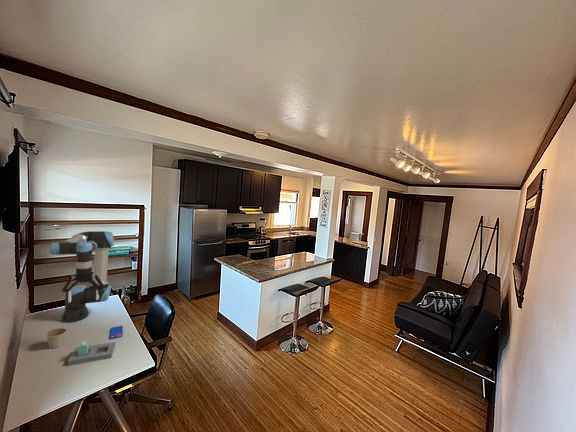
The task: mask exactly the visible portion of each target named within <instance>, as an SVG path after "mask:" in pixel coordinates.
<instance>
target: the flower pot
mask: <svg viewBox="0 0 576 432" xmlns="http://www.w3.org/2000/svg"><path fill="white" fill-rule="evenodd" d="M66 332H67V329H66V328H64V327H59V328H55V329H51V330H49V331H47V332H46V333H45V337H46V339H47V343H48V347H49V349H56V348H60V347H61V346H62V345H63V344H64V340H65V335H66Z"/></svg>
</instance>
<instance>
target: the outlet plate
mask: <svg viewBox="0 0 576 432" xmlns="http://www.w3.org/2000/svg"><path fill="white" fill-rule="evenodd" d="M115 347H116V341H113V342H108V343H101V344H96V345H95V344H94V345H89V353H88V355H83V356H78V347H76V348H74V350H73V351H72V353H71V355H70V357H69V358H68V360H67V366H73V365H79V364H83V363H84V364H85V363H90V362H91V363H92V362H95V361H100V360H107V359H111V358H112V357H113V353H114V350H115Z"/></svg>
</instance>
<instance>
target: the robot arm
mask: <svg viewBox="0 0 576 432" xmlns="http://www.w3.org/2000/svg"><path fill="white" fill-rule="evenodd" d="M114 246H115V238H114V233H113V232H112V231H106V230H104V231H103V230H102V231H100V230H99V231H96V230H95V231H88V230H87V231H82V232H77V233H76V234H74V235H72V236H71V237H70V238H68V239H66V240H64V241H62V242H58V241H57V242H52V243H51V244H50V245H49V253H50V255H52V256H63V255H75V257H76V258H75V260H76V261H75V268H76V269H75V275H73V274H71V275H70V276H69V277H68V281H67V282H66V283H65V285H64V287H63V288H62V289H61V292H65V294H64V311H63V313H62V316H61V321H62V322H63V323H74V322H75V323H76V322H79V321H82V320H85V319H86V318H87V317H89V314H90V312H89V310H88V307H87V306H86V305H87V304H93V303H102V302H107V301H108V300H109V298H110V295H111V289H112V286H111V285H110V283H109V282H108V281H107V279H108V267H109V266H108V263H109V251H110V250H111V249H112V247H114ZM93 254H94V258H93ZM93 259H94V261H93ZM93 262H94V263H93ZM92 266H93V267H92ZM74 279H76V280H75V282H73V283H72V284H71V282H72V281H73V280H74ZM78 283H80V284H79V285H77V284H78ZM81 283H82V284H81ZM83 283H89V286H88V287H87V286H86V285H85V284H83ZM70 284H71V286H70Z"/></svg>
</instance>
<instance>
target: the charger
mask: <svg viewBox="0 0 576 432" xmlns="http://www.w3.org/2000/svg"><path fill="white" fill-rule="evenodd" d="M89 342H90V341H89V340H87V341H81V342H79V344H78V346H77V348H78V356H83V355H88V353H89V346H90V343H89Z"/></svg>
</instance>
